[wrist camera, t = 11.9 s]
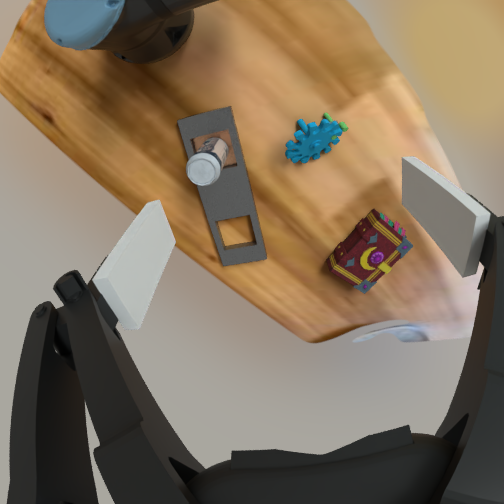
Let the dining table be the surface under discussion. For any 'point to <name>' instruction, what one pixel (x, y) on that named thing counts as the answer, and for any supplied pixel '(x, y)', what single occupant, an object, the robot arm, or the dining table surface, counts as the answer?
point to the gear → (314, 139)
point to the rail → (225, 183)
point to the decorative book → (369, 251)
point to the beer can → (207, 162)
